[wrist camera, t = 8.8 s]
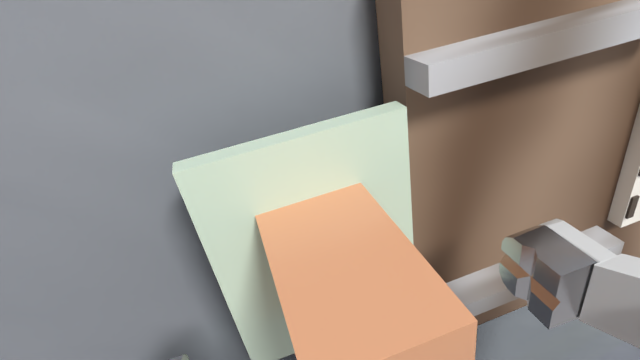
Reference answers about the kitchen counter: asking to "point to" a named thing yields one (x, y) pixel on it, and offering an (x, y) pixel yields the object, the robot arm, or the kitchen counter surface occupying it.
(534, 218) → the ticket board
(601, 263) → the robot arm
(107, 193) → the kitchen counter surface
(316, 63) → the kitchen counter surface
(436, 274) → the orange block with base
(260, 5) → the kitchen counter surface
